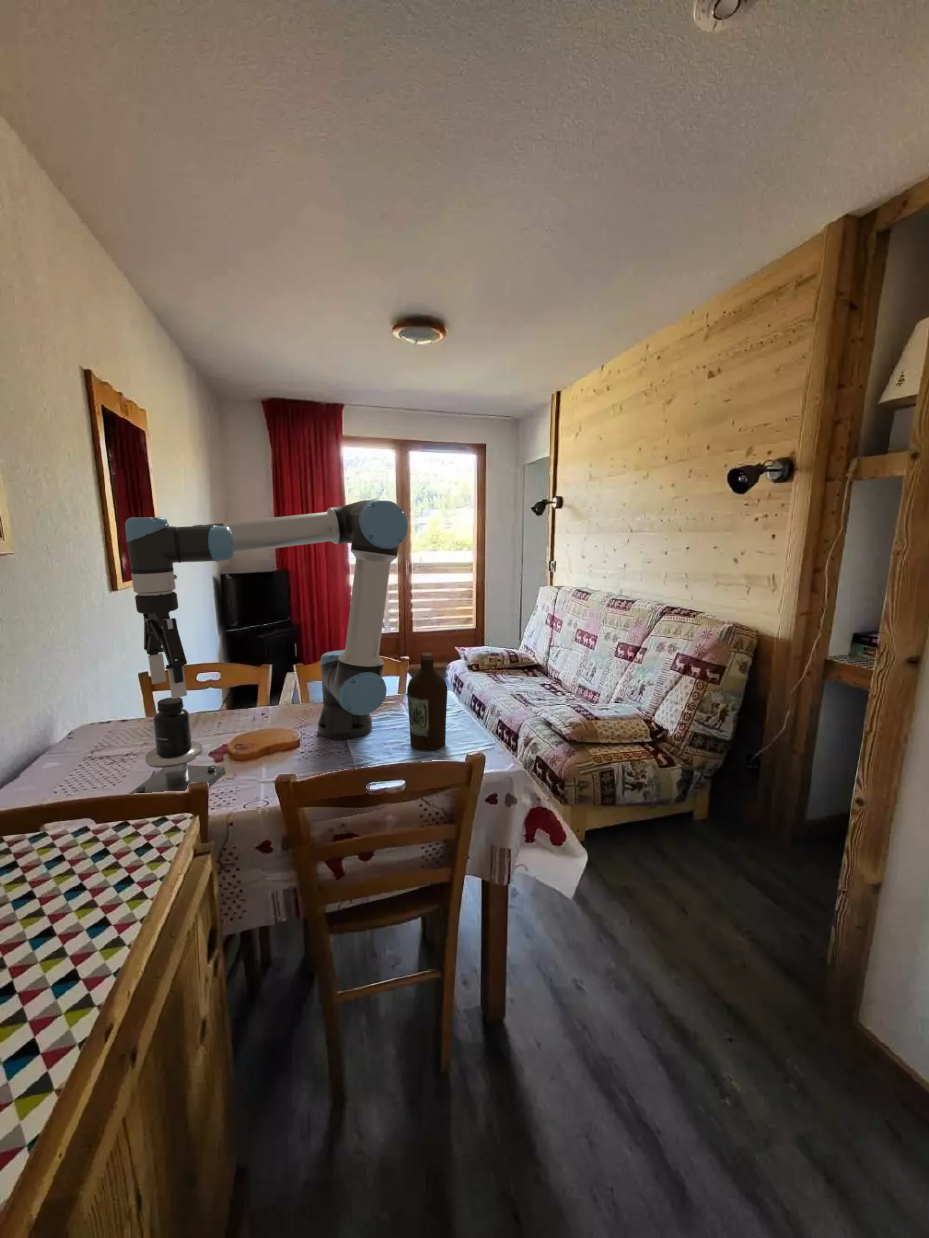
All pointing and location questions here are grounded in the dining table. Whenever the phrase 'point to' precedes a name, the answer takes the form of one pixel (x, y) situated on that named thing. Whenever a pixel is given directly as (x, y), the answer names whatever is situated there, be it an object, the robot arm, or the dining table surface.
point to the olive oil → (427, 707)
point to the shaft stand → (178, 772)
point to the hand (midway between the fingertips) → (169, 689)
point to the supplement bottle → (172, 728)
